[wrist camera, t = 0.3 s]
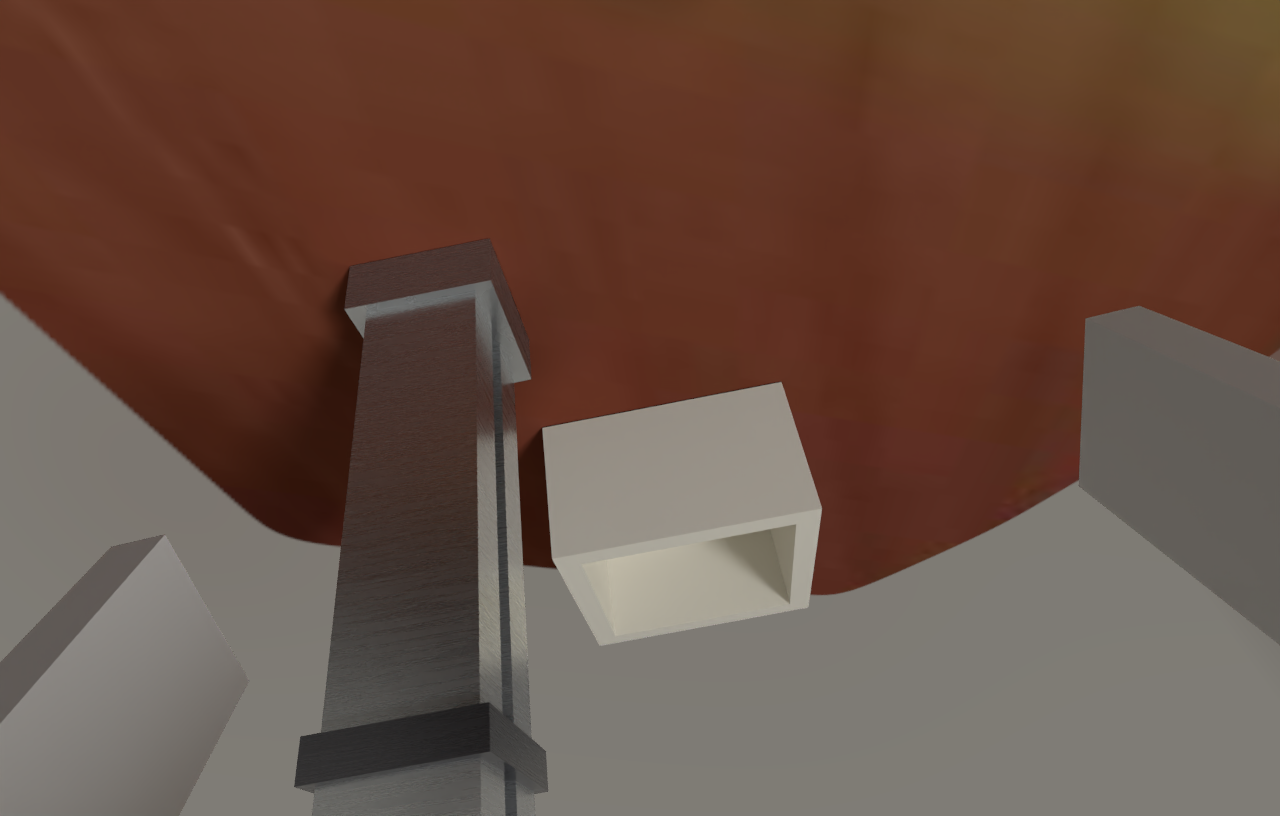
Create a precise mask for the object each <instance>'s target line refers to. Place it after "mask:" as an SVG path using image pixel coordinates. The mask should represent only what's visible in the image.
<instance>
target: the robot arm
mask: <svg viewBox="0 0 1280 816" xmlns="http://www.w3.org/2000/svg"><path fill="white" fill-rule="evenodd" d="M1079 487H1081V488H1082V489H1083V490H1084V491H1086V492H1087V493H1089V494H1090V495H1091V496H1092V497H1093V498H1095V499H1096V500H1097V501H1098V502H1100V503H1101V504H1102V505H1103V506H1105V507H1106V508H1107V509H1109V510H1110V511H1111V512H1112V513H1113V514H1115V515H1116V516H1117V517H1119V518H1120V519H1121V520H1122V521H1124V522H1125V523H1126V524H1127V525H1129V526H1130V527H1131V528H1132V529H1134V530H1135V531H1136V532H1138V533H1139V534H1140V535H1141V536H1143V537H1144V538H1145V539H1147V540H1148V541H1149V542H1150V543H1152V544H1153V545H1154V546H1155V547H1157V548H1158V549H1159V550H1160V551H1162V552H1163V553H1164V554H1165V555H1167V556H1168V557H1169V558H1170V559H1172V560H1173V561H1174V562H1175V563H1177V564H1178V565H1179V566H1180V567H1182V568H1183V569H1184V570H1186V571H1187V572H1188V573H1189V574H1191V575H1192V576H1193V577H1194V578H1196V579H1197V580H1198V581H1200V582H1201V583H1202V584H1203V585H1205V586H1206V587H1207V588H1208V589H1210V590H1211V591H1212V592H1213V593H1215V594H1216V595H1217V596H1218V597H1220V598H1221V599H1222V600H1223V601H1225V602H1226V603H1227V604H1229V605H1230V606H1231V607H1232V608H1234V609H1235V610H1236V611H1237V612H1239V613H1240V614H1241V615H1242V616H1244V617H1245V618H1246V619H1248V620H1249V621H1250V622H1251V623H1253V624H1254V625H1255V626H1256V627H1258V628H1259V629H1260V630H1261V631H1263V632H1264V633H1265V634H1266V635H1268V636H1269V637H1271V638H1272V639H1273V640H1274V641H1276V642H1277V643H1278V644H1279V645H1280V361H1277V360H1275V359H1272V358H1270V357H1267V356H1265V355H1262V354H1260V353H1257V352H1255V351H1252V350H1250V349H1247V348H1244V347H1242V346H1239V345H1237V344H1234V343H1232V342H1229V341H1227V340H1224V339H1222V338H1219V337H1217V336H1214V335H1212V334H1209V333H1207V332H1204V331H1201V330H1199V329H1196V328H1194V327H1191V326H1189V325H1186V324H1184V323H1181V322H1179V321H1176V320H1174V319H1171V318H1169V317H1166V316H1164V315H1161V314H1159V313H1156V312H1153V311H1151V310H1148V309H1146V308H1143V307H1141V306H1137V307H1133V308H1129V309H1124V310H1120V311H1116V312H1112V313H1107V314H1103V315H1099V316H1094V317H1090V318H1086V324H1085V348H1084V372H1083V397H1082V421H1081V445H1080V469H1079ZM248 682H249V679H248V677H247V676H246V674H245V672H244V670H243V669H242V667H241V665H240V663H239V662H238V660H237V658H236V657H235V655H234V653H233V651H232V650H231V648H230V646H229V644H228V643H227V641H226V639H225V637H224V636H223V634H222V632H221V630H220V629H219V627H218V625H217V623H216V622H215V620H214V618H213V617H212V615H211V613H210V612H209V610H208V608H207V606H206V605H205V603H204V601H203V599H202V598H201V596H200V594H199V592H198V591H197V589H196V587H195V585H194V584H193V582H192V580H191V578H190V577H189V575H188V573H187V571H186V570H185V568H184V566H183V565H182V563H181V561H180V559H179V558H178V556H177V554H176V552H175V551H174V549H173V547H172V545H171V544H170V542H169V540H168V538H167V537H166V535H160V536H156V537H152V538H148V539H143V540H139V541H134V542H130V543H126V544H122V545H117V546H113V547H111V548H110V549H109V550H108V551H107V552H106V553H105V554H104V555H103V556H102V557H101V558H100V559H99V560H98V561H97V562H96V563H95V565H93V567H92V568H91V569H90V570H89V571H88V572H87V573H86V574H85V575H84V576H83V577H82V578H81V579H80V580H79V581H78V582H77V583H76V584H75V585H74V586H73V587H72V588H71V590H69V591H68V593H67V594H66V595H65V596H64V597H63V598H62V599H61V600H60V601H59V602H58V603H57V604H56V605H55V606H54V607H53V608H52V609H51V610H50V611H49V612H48V613H47V615H46V616H44V618H43V619H42V620H41V621H40V622H39V623H38V624H37V625H36V626H35V627H34V628H33V629H32V630H31V631H30V632H29V633H28V634H27V635H26V636H25V637H24V638H23V640H22V641H21V642H19V644H18V645H17V646H16V647H15V648H14V649H13V650H12V651H11V652H10V653H9V654H8V655H7V656H6V657H5V658H4V659H3V660H2V661H1V662H0V816H179V815H180V813H181V811H182V809H183V807H184V805H185V803H186V801H187V799H188V797H189V796H190V794H191V792H192V789H193V788H194V786H195V784H196V782H197V780H198V778H199V776H200V774H201V772H202V771H203V768H204V766H205V765H206V763H207V761H208V759H209V757H210V755H211V753H212V751H213V749H214V747H215V745H216V744H217V742H218V740H219V738H220V736H221V734H222V732H223V730H224V728H225V726H226V724H227V722H228V721H229V718H230V717H231V715H232V713H233V711H234V709H235V707H236V705H237V703H238V701H239V699H240V697H241V695H242V693H243V692H244V690H245V688H246V686H247V684H248Z"/></svg>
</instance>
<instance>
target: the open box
mask: <svg viewBox="0 0 1280 816" xmlns="http://www.w3.org/2000/svg"><path fill="white" fill-rule="evenodd" d="M542 430H543V444H544V457H545V470H546V484H547V497H548V511H549V524H550V538H551V551H552V560H553V562H554V563H555V565H556V567H557V569H558V571H559V572H560V574H561V576H562V578H563V580H564V581H565V583H566V585H567V587H568V589H569V590H570V592H571V594H572V596H573V598H574V600H575V601H576V603H577V605H578V607H579V609H580V610H581V612H582V614H583V616H584V618H585V619H586V621H587V623H588V624H589V627H590V628H591V630H592V632H593V634H594V636H595V638H596V639H597V641H598V643H599V645H600V646H602V645H607V644H613V643H618V642H623V641H629V640H634V639H640V638H645V637H650V636H656V635H661V634H666V633H672V632H678V631H683V630H689V629H694V628H700V627H704V626H710V625H716V624H721V623H727V622H732V621H738V620H743V619H748V618H754V617H759V616H765V615H770V614H775V613H780V612H786V611H792V610H796V609H803V608H808V606H809V599H810V592H811V584H812V577H813V570H814V562H815V555H816V548H817V541H818V533H819V526H820V519H821V512H822V507H821V504H820V501H819V498H818V495H817V491H816V488H815V485H814V482H813V479H812V476H811V473H810V470H809V466H808V463H807V460H806V457H805V454H804V451H803V448H802V445H801V442H800V438H799V435H798V432H797V429H796V426H795V423H794V420H793V417H792V414H791V410H790V407H789V404H788V401H787V398H786V395H785V392H784V389H783V385H782V382H779V383H773V384H768V385H763V386H758V387H753V388H747V389H742V390H737V391H732V392H727V393H721V394H716V395H711V396H706V397H701V398H695V399H690V400H685V401H680V402H675V403H669V404H664V405H659V406H654V407H649V408H644V409H638V410H633V411H628V412H623V413H618V414H612V415H607V416H602V417H597V418H592V419H586V420H581V421H576V422H571V423H566V424H560V425H555V426H550V427H545V428H542Z"/></svg>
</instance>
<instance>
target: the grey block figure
mask: <svg viewBox="0 0 1280 816" xmlns="http://www.w3.org/2000/svg"><path fill="white" fill-rule="evenodd" d="M344 310H345V311H346V313H347V314H348V316H349V317H350V319H351V320H352V322H353V323H354V325H355V326H356V328H357V329H358V331H359V332H360V334H361V335H362V337H363V338H364V340H363V349H362V358H361V367H360V376H359V386H358V395H357V404H356V413H355V423H354V432H353V441H352V450H351V460H350V469H349V478H348V487H347V497H346V506H345V515H344V524H343V534H342V543H341V552H340V561H339V571H338V580H337V589H336V598H335V608H334V617H333V627H332V635H331V645H330V654H329V664H328V672H327V682H326V691H325V700H324V710H323V719H322V729H321V733H317V734H312V735H307V736H301V737H300V745H299V754H298V761H297V769H296V777H295V786H294V787H296V788H300V789H302V790H305V791H309V792H311V793H314V802H313V812H312V816H535V798H534V794H537V793H542V792H548V781H547V765H546V751H545V750H544V749H543V748H542V747H540V746H539V745H538V744H537V743H536V742H535V741H533V740H532V737H531V717H530V697H529V676H528V656H527V636H526V617H525V595H524V575H523V555H522V535H521V514H520V494H519V474H518V454H517V433H516V413H515V393H514V383H515V382H520V381H525V380H530V379H532V378H531V364H530V349H529V339H528V336H527V333H526V331H525V328H524V326H523V323H522V321H521V318H520V315H519V313H518V310H517V308H516V305H515V303H514V300H513V297H512V295H511V292H510V290H509V287H508V285H507V282H506V280H505V277H504V274H503V272H502V269H501V267H500V264H499V262H498V259H497V256H496V254H495V251H494V249H493V246H492V244H491V241H490V239H485V240H480V241H475V242H470V243H465V244H460V245H455V246H450V247H445V248H440V249H435V250H430V251H425V252H420V253H415V254H410V255H405V256H400V257H395V258H390V259H385V260H380V261H375V262H370V263H365V264H360V265H355V266H350V270H349V277H348V285H347V292H346V300H345V307H344Z"/></svg>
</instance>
